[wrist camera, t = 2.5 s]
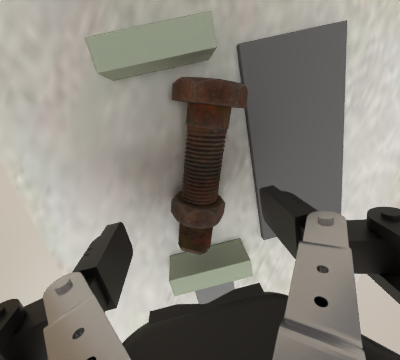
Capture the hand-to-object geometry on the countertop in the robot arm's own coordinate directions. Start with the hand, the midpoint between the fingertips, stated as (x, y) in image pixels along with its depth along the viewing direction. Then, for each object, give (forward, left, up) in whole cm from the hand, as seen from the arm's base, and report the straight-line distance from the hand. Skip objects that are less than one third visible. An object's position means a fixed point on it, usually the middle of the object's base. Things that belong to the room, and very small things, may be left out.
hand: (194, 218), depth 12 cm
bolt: (0, +1, -9) cm, 9 cm away
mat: (0, +11, -9) cm, 14 cm away
